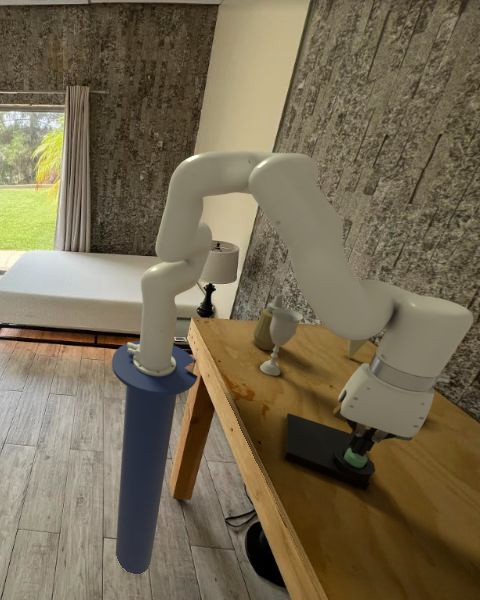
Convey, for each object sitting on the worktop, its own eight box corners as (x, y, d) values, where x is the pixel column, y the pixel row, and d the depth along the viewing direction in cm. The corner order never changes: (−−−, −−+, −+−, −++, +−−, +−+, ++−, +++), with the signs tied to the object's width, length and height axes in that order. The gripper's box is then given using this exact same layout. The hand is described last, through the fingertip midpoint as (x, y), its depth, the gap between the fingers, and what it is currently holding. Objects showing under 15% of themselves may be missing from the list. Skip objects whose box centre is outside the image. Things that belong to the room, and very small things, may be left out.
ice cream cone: (361, 365, 91) (382, 320, 85) (340, 360, 94) (358, 315, 87) (358, 356, 95) (377, 312, 89) (337, 351, 98) (355, 308, 91)
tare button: (344, 463, 59) (348, 457, 59) (342, 451, 62) (346, 445, 61) (365, 471, 58) (369, 464, 57) (362, 458, 60) (366, 452, 59)
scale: (284, 460, 64) (289, 447, 62) (285, 419, 74) (289, 406, 72) (369, 494, 58) (378, 479, 56) (358, 444, 67) (365, 431, 66)
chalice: (264, 359, 95) (280, 305, 87) (288, 370, 90) (307, 315, 82) (251, 368, 91) (266, 313, 83) (276, 381, 86) (295, 323, 78)
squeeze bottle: (279, 355, 96) (296, 302, 88) (249, 348, 100) (263, 296, 92) (279, 342, 102) (295, 292, 94) (251, 336, 106) (265, 287, 98)
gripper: (456, 373, 50) (403, 452, 58) (340, 345, 57) (307, 419, 65) (478, 403, 44) (415, 486, 53) (345, 368, 51) (309, 446, 60)
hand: (356, 448), depth 59 cm, fingers closed
